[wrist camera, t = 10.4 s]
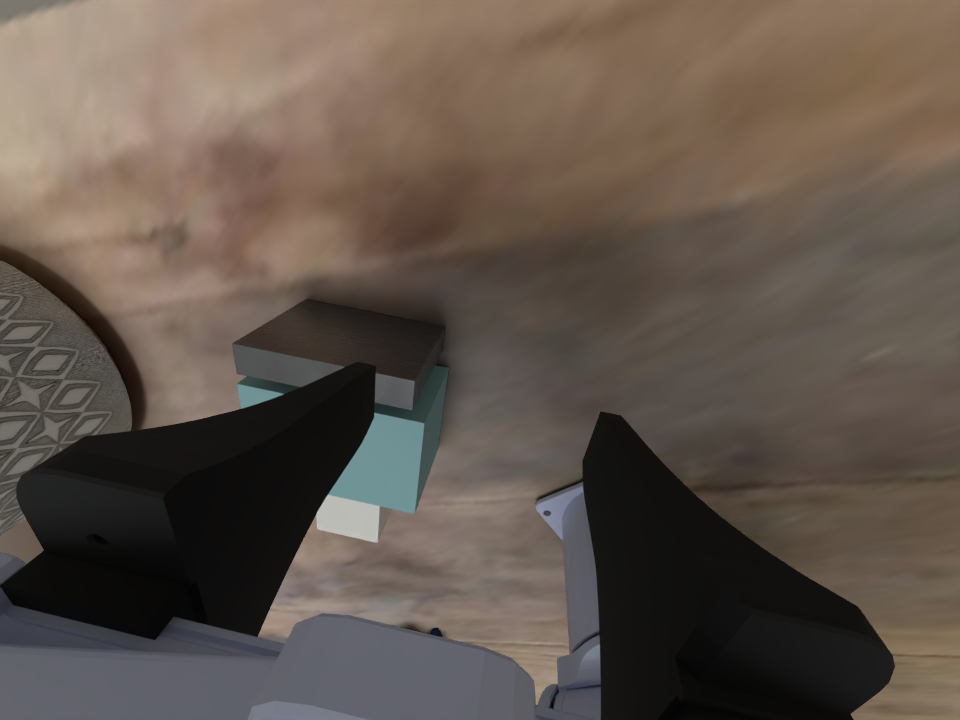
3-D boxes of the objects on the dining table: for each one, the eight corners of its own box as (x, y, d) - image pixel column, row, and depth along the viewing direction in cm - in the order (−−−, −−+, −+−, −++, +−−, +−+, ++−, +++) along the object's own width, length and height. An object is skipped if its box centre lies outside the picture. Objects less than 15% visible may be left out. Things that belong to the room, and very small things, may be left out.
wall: (442, 350, 22) (412, 410, 17) (307, 323, 23) (236, 373, 17) (445, 326, 22) (414, 381, 16) (306, 299, 22) (231, 343, 17)
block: (438, 447, 25) (414, 514, 21) (305, 419, 26) (252, 477, 21) (448, 367, 23) (424, 423, 18) (299, 337, 23) (236, 383, 18)
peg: (397, 495, 28) (377, 543, 25) (344, 483, 29) (317, 529, 25) (407, 378, 24) (384, 416, 20) (343, 365, 24) (309, 400, 20)
